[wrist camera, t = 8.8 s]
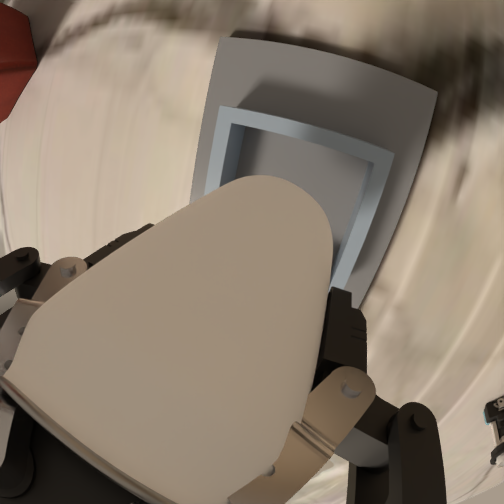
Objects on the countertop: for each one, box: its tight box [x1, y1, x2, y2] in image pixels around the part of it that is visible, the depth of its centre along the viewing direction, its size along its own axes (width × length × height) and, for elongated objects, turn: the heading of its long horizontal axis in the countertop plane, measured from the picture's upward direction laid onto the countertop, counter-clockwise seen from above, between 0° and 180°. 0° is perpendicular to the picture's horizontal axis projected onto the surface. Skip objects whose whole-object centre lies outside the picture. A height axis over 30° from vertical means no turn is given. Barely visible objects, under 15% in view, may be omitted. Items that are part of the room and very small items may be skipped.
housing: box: [190, 37, 438, 309], centre depth 20 cm, size 22×16×4 cm
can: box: [0, 175, 333, 504], centre depth 9 cm, size 6×6×12 cm
